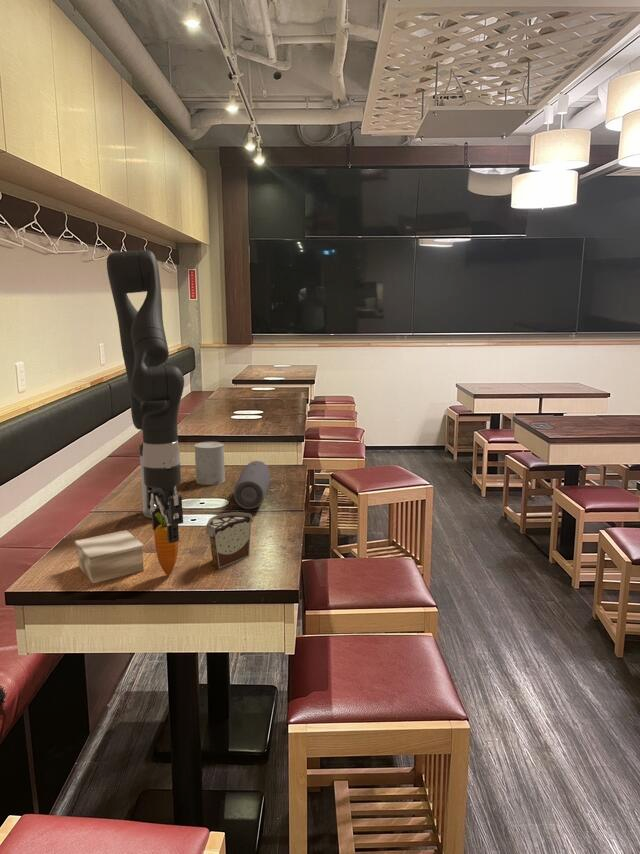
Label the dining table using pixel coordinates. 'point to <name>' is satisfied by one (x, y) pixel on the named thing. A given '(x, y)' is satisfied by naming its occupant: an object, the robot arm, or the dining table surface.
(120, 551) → the wooden stand
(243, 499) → the bluetooth speaker
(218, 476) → the grey cylinder
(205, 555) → the dining table surface
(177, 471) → the robot arm
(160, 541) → the carrot
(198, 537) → the dining table surface
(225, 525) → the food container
